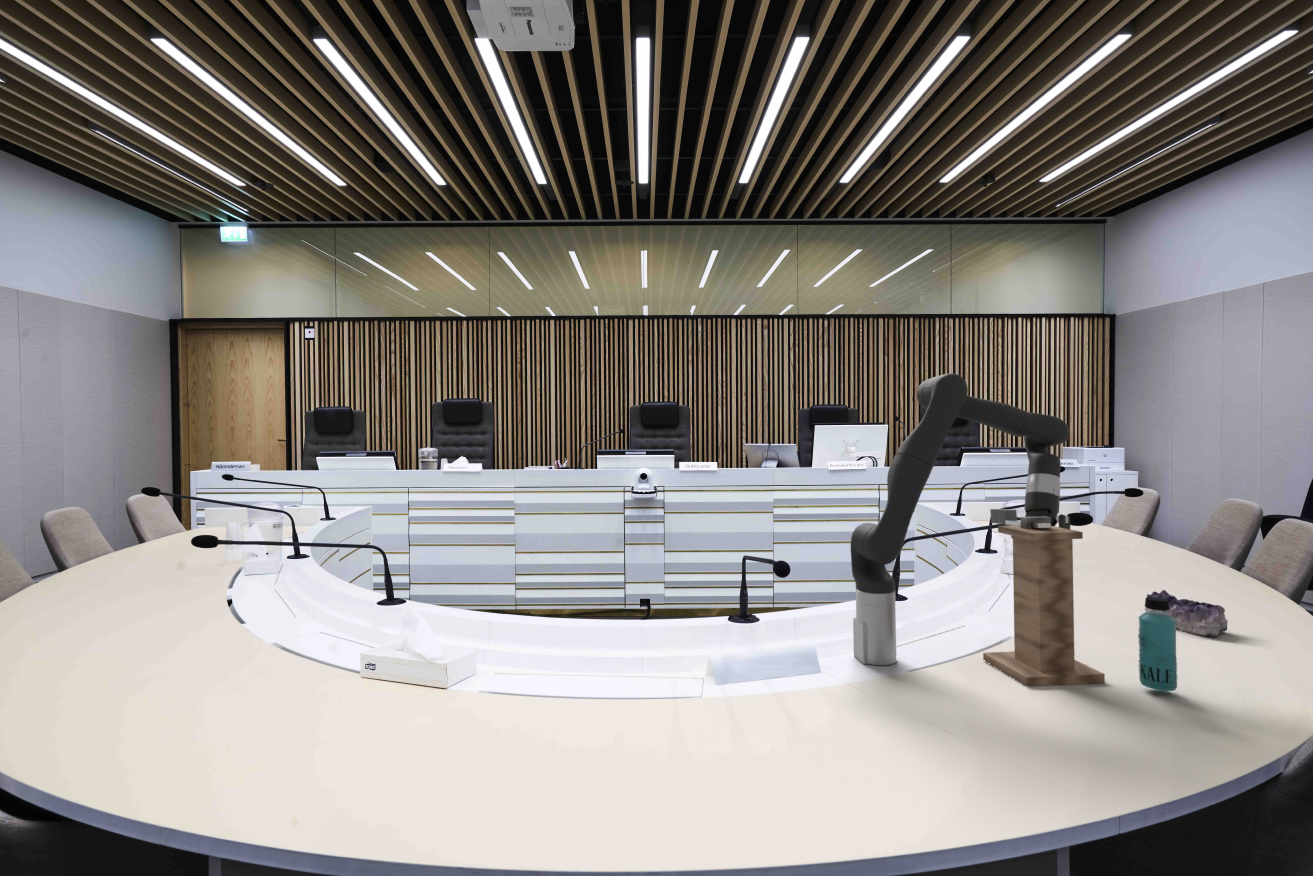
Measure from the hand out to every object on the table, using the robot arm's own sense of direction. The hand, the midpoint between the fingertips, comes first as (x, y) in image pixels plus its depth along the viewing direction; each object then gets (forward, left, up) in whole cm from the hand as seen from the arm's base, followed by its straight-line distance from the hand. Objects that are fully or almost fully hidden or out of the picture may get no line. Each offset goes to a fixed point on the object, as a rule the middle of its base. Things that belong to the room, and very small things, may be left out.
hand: (1038, 557), depth 157 cm
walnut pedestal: (-7, -11, -24) cm, 27 cm away
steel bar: (-7, -5, +9) cm, 12 cm away
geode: (+54, +16, -25) cm, 61 cm away
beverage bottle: (+9, -25, -25) cm, 36 cm away
